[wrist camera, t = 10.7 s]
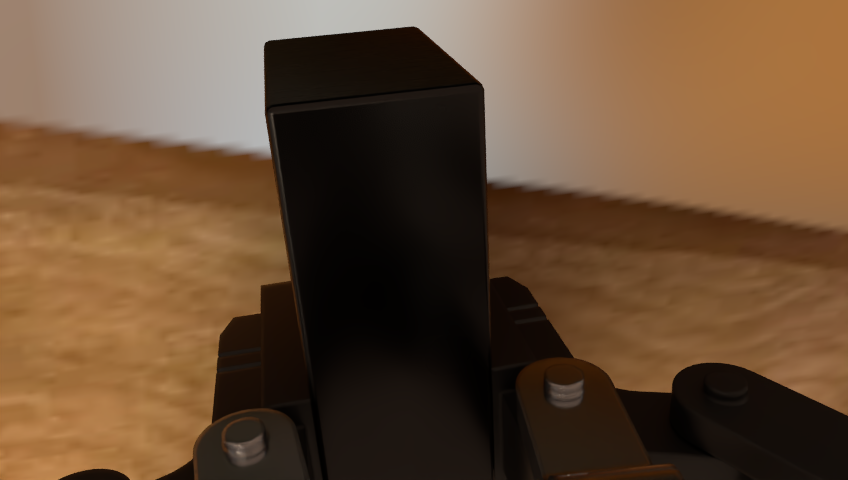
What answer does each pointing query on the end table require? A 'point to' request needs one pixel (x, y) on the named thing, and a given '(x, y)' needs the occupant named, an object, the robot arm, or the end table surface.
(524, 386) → the robot arm
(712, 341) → the end table surface
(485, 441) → the knife
